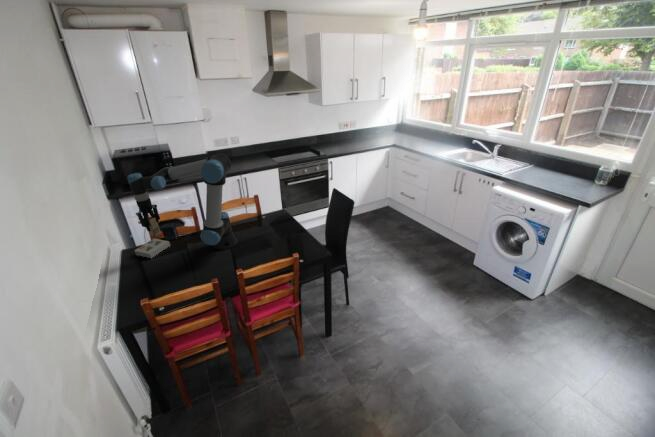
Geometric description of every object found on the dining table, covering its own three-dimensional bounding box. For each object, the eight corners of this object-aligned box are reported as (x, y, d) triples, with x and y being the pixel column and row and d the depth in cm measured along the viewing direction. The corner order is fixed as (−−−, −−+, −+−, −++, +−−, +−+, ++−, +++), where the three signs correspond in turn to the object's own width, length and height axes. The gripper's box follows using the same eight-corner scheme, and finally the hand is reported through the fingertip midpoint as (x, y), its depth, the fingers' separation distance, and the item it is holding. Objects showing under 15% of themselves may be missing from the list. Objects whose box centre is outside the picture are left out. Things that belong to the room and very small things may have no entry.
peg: (161, 234, 203) (154, 217, 197) (156, 237, 199) (149, 220, 194) (156, 233, 204) (150, 217, 199) (151, 236, 201) (144, 219, 195)
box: (178, 235, 233) (174, 222, 228) (176, 239, 228) (172, 226, 223) (167, 236, 232) (163, 224, 227) (165, 240, 227) (160, 227, 222)
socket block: (170, 246, 220) (168, 241, 218) (151, 259, 207) (149, 253, 205) (155, 243, 225) (153, 238, 223) (136, 255, 212) (134, 250, 210)
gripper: (150, 193, 198) (161, 226, 209) (125, 204, 185) (139, 239, 195) (158, 194, 196) (170, 227, 206) (134, 205, 182) (148, 240, 193)
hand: (155, 233), depth 201 cm, fingers closed on peg, 4 cm apart
